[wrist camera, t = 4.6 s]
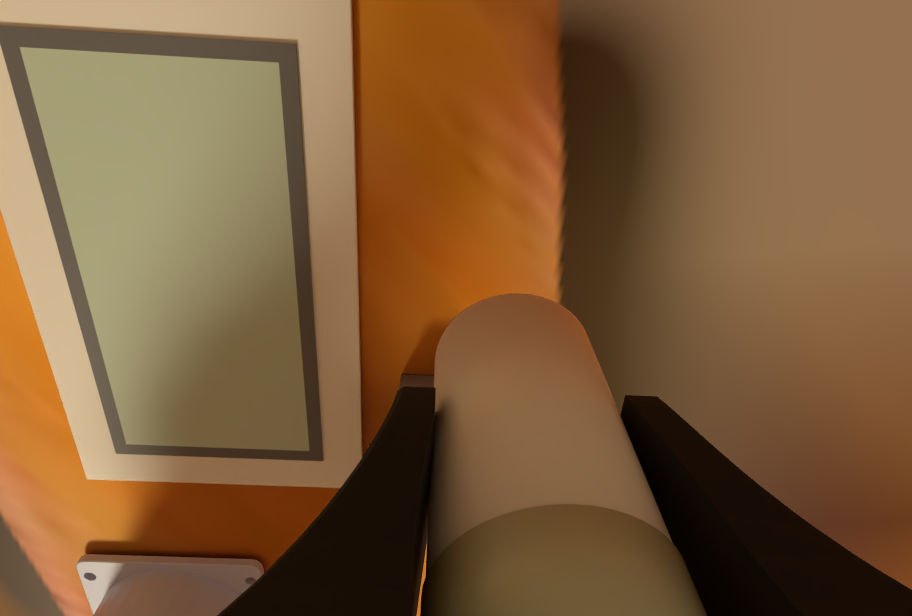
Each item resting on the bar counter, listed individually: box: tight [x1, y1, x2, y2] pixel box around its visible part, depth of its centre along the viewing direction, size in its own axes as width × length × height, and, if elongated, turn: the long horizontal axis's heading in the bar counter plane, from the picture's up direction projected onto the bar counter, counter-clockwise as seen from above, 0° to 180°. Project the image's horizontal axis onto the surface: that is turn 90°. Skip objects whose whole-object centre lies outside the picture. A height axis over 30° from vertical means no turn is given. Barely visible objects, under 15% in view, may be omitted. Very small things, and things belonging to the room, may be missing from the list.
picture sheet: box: [0, 0, 363, 488], centre depth 19 cm, size 18×11×1 cm, turn 177°
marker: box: [420, 294, 707, 616], centre depth 10 cm, size 4×4×8 cm
